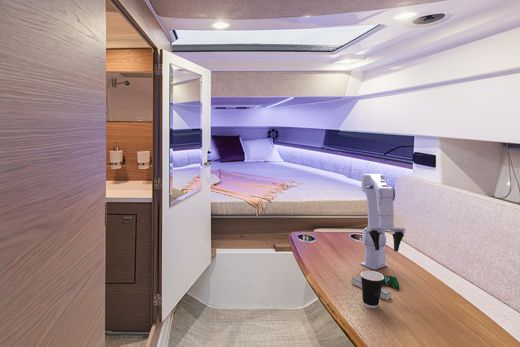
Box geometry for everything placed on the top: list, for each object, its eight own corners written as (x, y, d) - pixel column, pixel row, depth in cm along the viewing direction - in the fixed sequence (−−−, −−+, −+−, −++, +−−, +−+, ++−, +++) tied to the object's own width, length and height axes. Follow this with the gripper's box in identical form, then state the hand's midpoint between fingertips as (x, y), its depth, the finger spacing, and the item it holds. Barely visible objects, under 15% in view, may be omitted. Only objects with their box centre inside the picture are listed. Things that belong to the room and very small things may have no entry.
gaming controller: (398, 292, 126) (398, 278, 130) (399, 289, 124) (399, 274, 127) (374, 288, 129) (374, 274, 133) (374, 285, 126) (375, 271, 130)
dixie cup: (383, 312, 108) (385, 281, 107) (358, 308, 110) (360, 277, 109) (381, 301, 115) (383, 272, 114) (358, 297, 118) (360, 269, 117)
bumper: (356, 281, 131) (357, 276, 131) (391, 298, 118) (391, 292, 117) (351, 283, 129) (352, 278, 129) (386, 300, 116) (386, 294, 116)
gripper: (372, 214, 124) (372, 250, 121) (408, 216, 124) (409, 252, 121) (365, 215, 130) (365, 249, 128) (400, 217, 131) (401, 251, 128)
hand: (386, 250), depth 125 cm, fingers open, 7 cm apart
